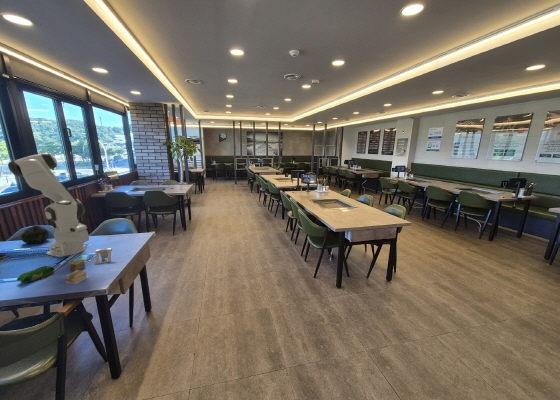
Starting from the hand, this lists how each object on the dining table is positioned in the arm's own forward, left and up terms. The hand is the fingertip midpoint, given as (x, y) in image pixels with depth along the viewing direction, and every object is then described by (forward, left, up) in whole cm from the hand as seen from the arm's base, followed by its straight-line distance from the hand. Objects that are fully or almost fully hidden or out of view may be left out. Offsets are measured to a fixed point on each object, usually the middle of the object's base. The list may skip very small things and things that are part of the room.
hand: (73, 248), depth 139 cm
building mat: (+10, -10, -15) cm, 20 cm away
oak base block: (+12, -11, -14) cm, 21 cm away
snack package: (-14, -12, -15) cm, 23 cm away
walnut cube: (0, 0, -15) cm, 15 cm away
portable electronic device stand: (+7, +12, -15) cm, 20 cm away
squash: (-74, +33, -15) cm, 83 cm away
